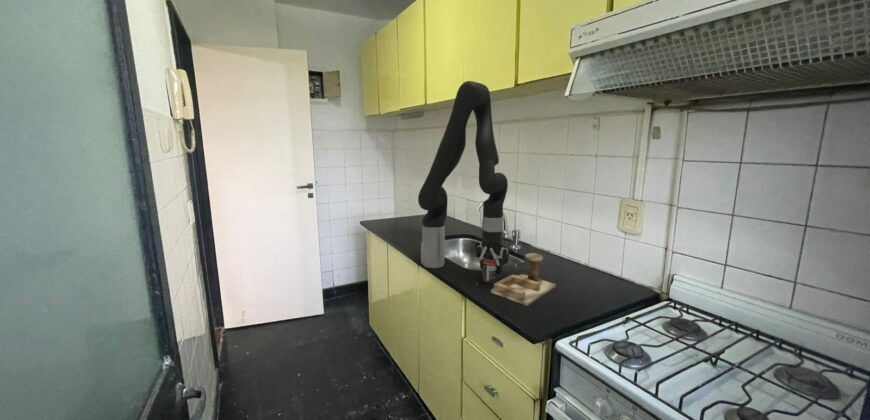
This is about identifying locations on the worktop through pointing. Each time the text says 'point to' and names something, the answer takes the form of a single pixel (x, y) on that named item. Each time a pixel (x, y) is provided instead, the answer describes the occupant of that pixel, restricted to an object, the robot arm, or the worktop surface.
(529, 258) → the bobbin post
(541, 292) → the notched board
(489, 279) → the supplement bottle
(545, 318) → the worktop surface
